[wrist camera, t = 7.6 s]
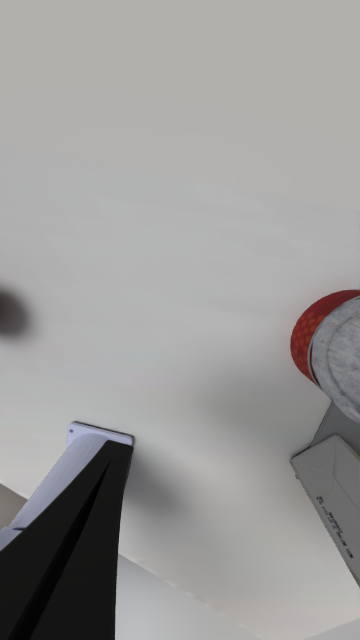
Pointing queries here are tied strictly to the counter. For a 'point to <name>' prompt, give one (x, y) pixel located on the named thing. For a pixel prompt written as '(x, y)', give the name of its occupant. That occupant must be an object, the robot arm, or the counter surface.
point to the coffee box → (335, 493)
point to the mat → (338, 429)
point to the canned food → (332, 348)
